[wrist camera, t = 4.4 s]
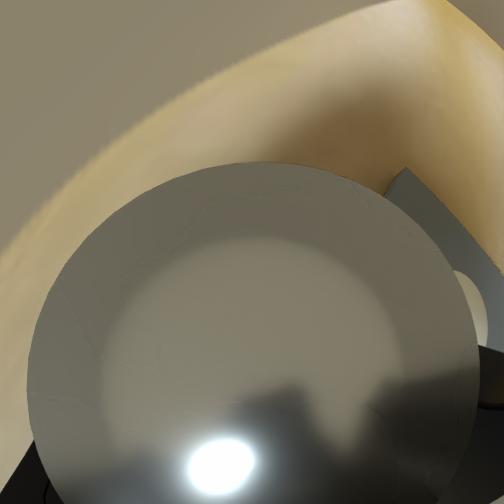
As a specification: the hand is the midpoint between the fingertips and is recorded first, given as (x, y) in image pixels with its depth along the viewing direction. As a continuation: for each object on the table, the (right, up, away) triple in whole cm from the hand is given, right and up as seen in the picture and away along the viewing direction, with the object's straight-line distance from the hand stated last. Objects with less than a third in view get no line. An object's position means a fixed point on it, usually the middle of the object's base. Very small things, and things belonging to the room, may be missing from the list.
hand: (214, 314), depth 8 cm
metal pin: (-1, -3, +6) cm, 7 cm away
